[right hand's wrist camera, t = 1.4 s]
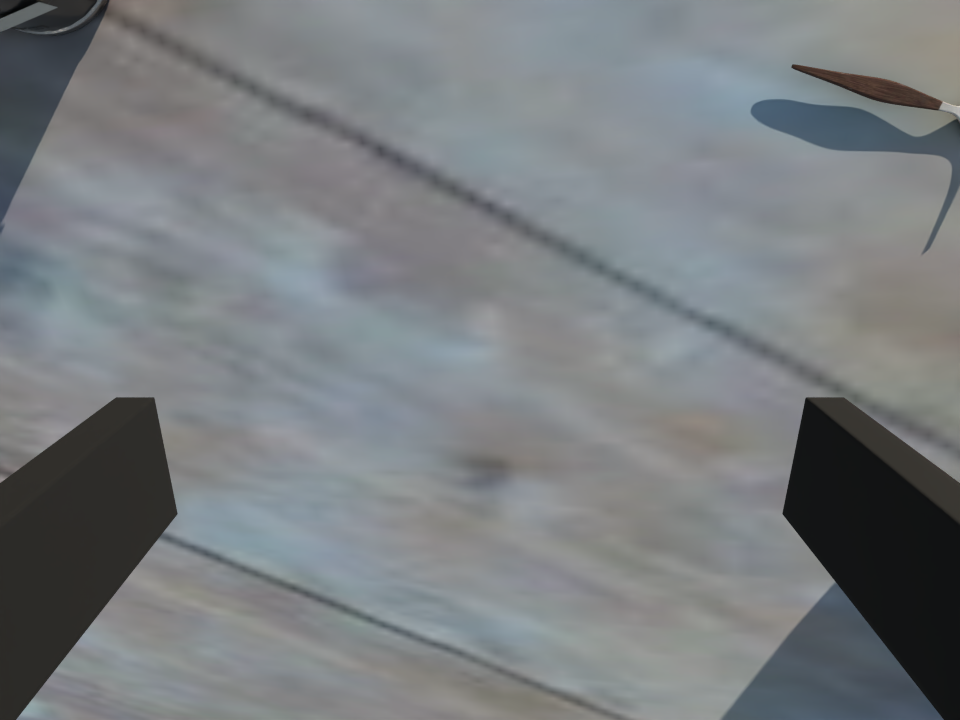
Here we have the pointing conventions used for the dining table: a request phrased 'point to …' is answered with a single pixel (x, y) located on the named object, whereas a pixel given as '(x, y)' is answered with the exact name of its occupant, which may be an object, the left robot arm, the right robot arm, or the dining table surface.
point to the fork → (881, 90)
